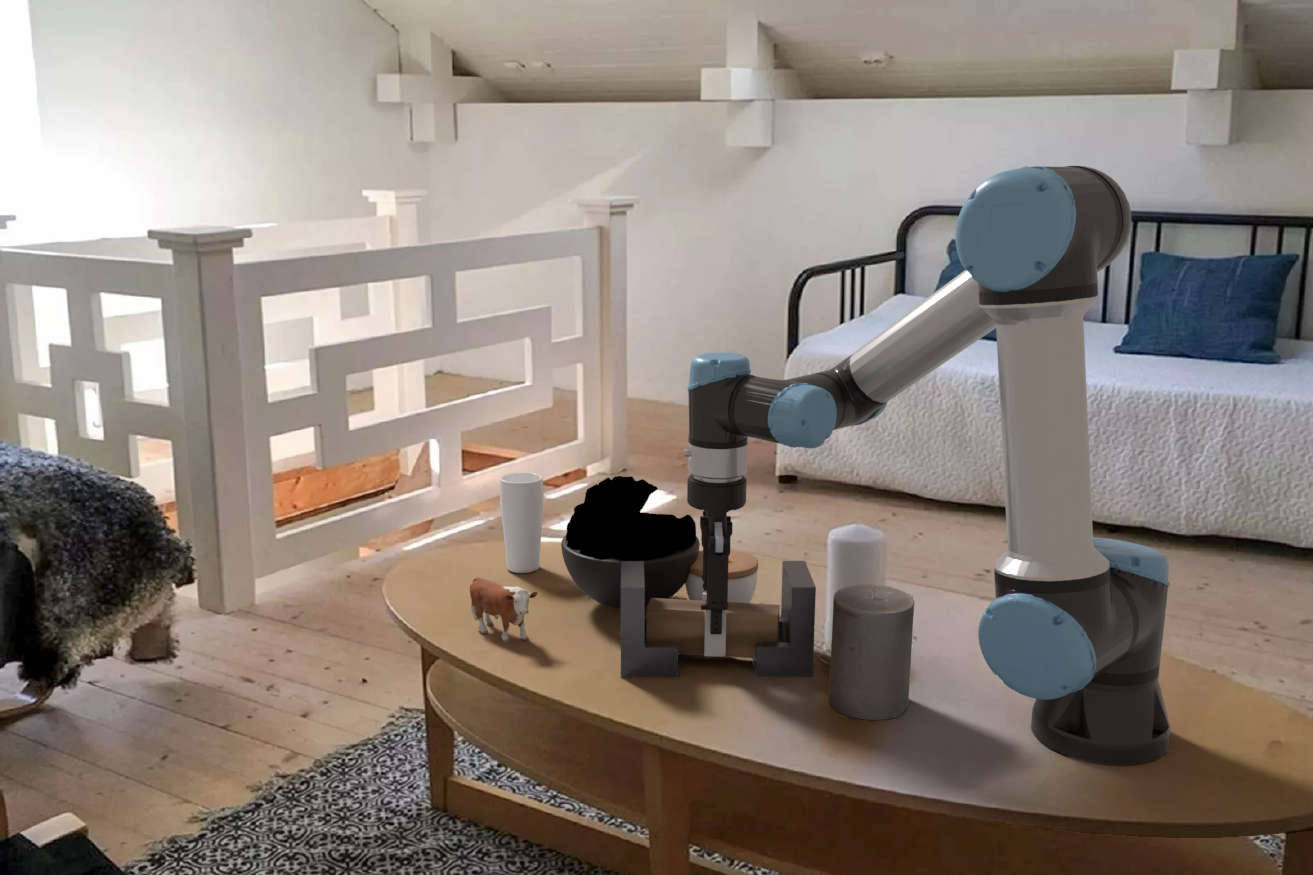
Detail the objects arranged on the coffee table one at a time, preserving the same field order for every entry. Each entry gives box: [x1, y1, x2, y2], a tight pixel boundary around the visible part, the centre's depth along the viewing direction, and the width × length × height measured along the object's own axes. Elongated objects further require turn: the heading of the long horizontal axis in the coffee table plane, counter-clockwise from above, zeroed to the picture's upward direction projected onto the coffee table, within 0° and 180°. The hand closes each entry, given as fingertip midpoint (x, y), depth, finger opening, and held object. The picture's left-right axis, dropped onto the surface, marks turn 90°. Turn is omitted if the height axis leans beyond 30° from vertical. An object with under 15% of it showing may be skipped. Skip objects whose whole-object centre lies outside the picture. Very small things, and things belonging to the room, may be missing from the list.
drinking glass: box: [499, 471, 544, 574], centre depth 208 cm, size 7×7×15 cm
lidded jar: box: [684, 549, 759, 603], centre depth 190 cm, size 11×11×9 cm
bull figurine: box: [469, 577, 538, 643], centre depth 181 cm, size 4×13×8 cm, turn 41°
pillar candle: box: [828, 583, 915, 721], centre depth 159 cm, size 10×10×15 cm
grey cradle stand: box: [620, 560, 817, 678], centre depth 172 cm, size 10×24×12 cm, turn 91°
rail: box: [645, 598, 781, 659], centre depth 172 cm, size 4×17×6 cm, turn 82°
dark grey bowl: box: [560, 475, 701, 611], centre depth 191 cm, size 20×20×19 cm
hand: (713, 646), depth 173 cm, fingers closed on rail, 5 cm apart
